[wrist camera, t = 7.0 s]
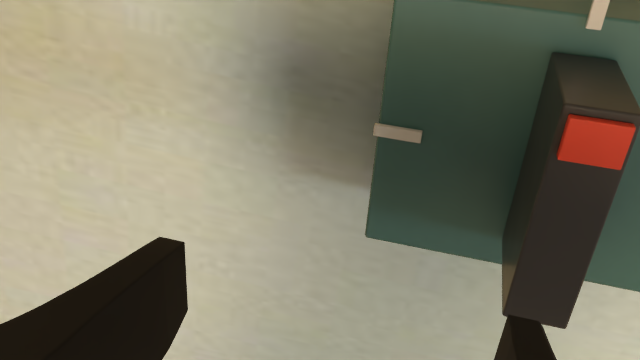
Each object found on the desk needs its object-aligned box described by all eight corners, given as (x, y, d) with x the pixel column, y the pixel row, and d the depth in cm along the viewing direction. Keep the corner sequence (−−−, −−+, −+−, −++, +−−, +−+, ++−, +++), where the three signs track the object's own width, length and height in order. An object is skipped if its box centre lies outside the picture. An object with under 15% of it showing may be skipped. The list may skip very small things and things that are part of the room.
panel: (797, -31, 16) (855, -2, 13) (661, 271, 21) (683, 335, 19) (410, -72, 18) (395, -53, 15) (373, 215, 23) (357, 266, 21)
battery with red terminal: (555, 249, 18) (566, 336, 15) (501, 239, 19) (502, 322, 16) (617, 60, 15) (647, 120, 12) (551, 51, 16) (564, 107, 13)
